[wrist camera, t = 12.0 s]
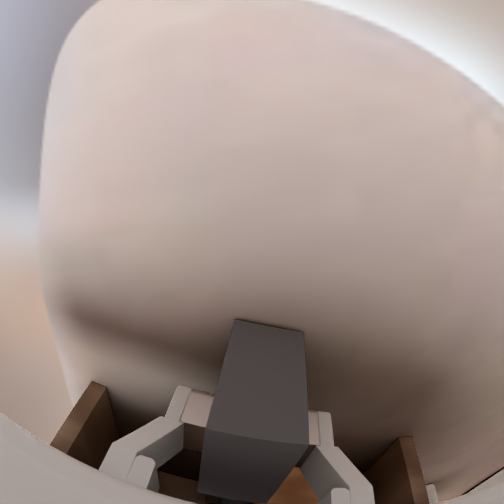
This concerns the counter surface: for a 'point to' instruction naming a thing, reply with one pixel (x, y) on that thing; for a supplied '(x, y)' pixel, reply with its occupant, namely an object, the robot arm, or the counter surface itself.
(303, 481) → the orange block
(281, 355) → the metal crook
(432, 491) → the syrup box
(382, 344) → the counter surface
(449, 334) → the counter surface
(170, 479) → the walnut cubby
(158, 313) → the counter surface
